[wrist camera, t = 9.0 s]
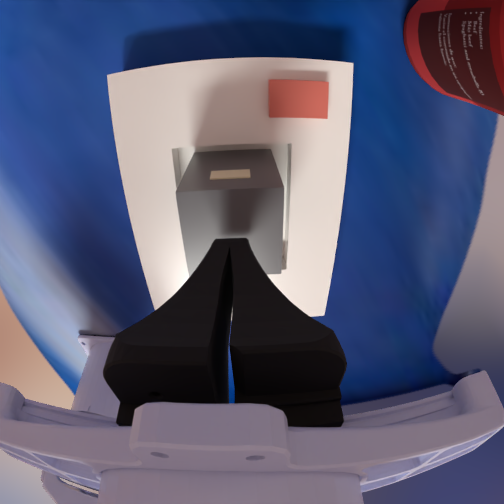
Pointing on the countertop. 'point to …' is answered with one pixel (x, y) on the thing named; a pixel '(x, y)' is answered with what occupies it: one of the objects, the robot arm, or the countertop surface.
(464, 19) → the canned food
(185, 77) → the socket plate
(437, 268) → the countertop surface
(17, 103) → the countertop surface
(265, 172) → the plug
